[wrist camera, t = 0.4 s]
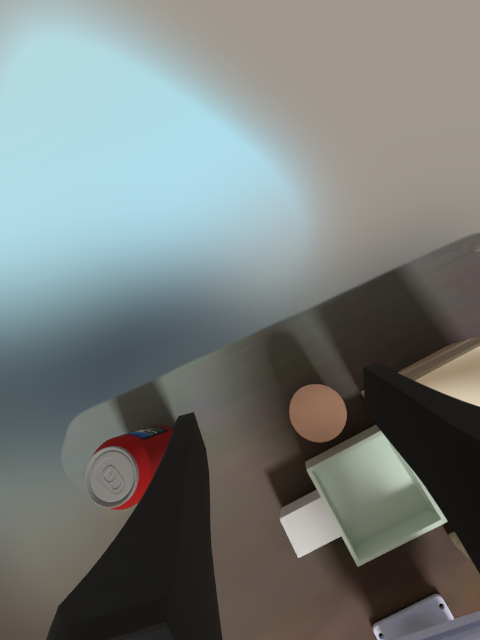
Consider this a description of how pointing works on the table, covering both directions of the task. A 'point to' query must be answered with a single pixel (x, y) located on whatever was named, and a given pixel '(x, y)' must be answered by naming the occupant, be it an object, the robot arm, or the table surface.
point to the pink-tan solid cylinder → (317, 412)
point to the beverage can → (125, 467)
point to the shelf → (451, 380)
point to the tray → (361, 500)
